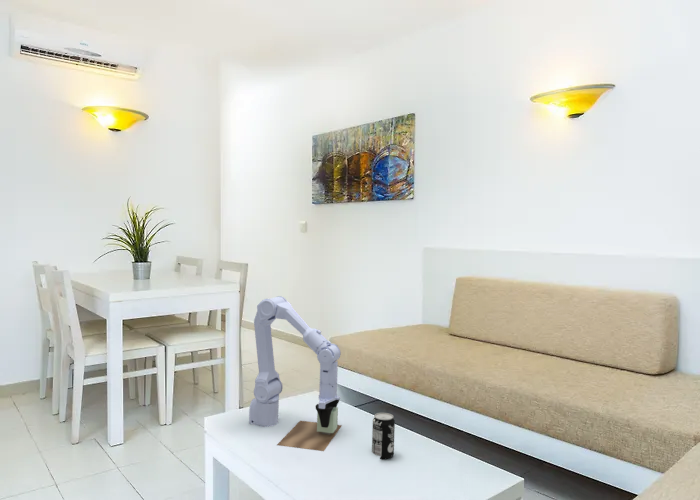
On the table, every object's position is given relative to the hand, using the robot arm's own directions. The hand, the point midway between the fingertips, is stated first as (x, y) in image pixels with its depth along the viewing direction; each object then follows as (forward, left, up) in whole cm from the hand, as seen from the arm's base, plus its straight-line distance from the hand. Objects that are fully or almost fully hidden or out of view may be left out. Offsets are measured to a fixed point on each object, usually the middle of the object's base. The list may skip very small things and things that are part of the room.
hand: (327, 423), depth 168 cm
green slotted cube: (0, 0, -2) cm, 2 cm away
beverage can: (+20, -9, -4) cm, 22 cm away
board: (-4, -3, -4) cm, 7 cm away
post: (0, 0, -3) cm, 3 cm away
